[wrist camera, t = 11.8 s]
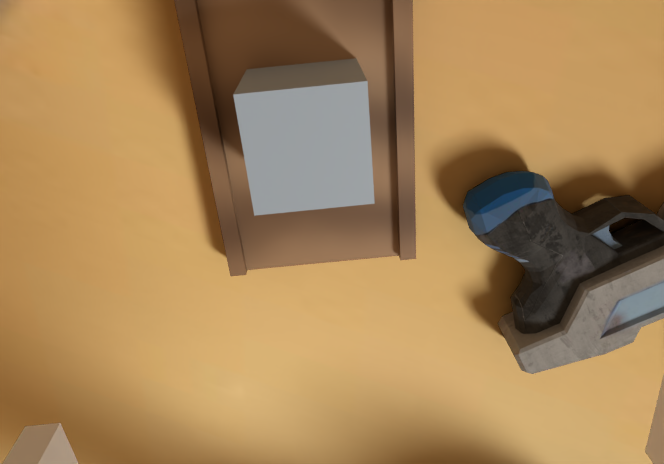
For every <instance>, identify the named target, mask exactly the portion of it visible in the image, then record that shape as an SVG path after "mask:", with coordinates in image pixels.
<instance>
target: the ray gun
mask: <svg viewBox="0 0 664 464" xmlns="http://www.w3.org/2000/svg"><path fill="white" fill-rule="evenodd" d="M463 208H464V211H465V214H466V218H467V222H468V225H469V228H470V230H471V231H472V232H473V233H474V234H475V235H476V236H477V238H478V239H479V240H480V241H482V242H483V243H484V244H485V245H487V246H488V247H490V248H492V249H494V250H496V251H498V252H501V253H503V254H505V255H508V256H511V257H513V258H514V259H516V260H517V261H518V262H519V263H521V264H522V266H523V267H524V269H525V274H524V276H523V278H522V281H521V283H520V285H519V286H518V288H517V289H516V290H515V292H514V293H513V295H512V296H511V303H512V309H513V312H511V313H509V314H506V315H504V316H502V318H501V319H500V321H499V322H498V325H499V327H500V329H501V331H502V333H503V335H504V337H505V339H506V341H507V343H508V345H509V347H510V349H511V351H512V353H513V355H514V357H515V359H516V360H517V362H518V364H519V366H520V368H521V370H522V371H525V372H527V373H531V374H534V373H537V372H541V371H545V370H548V369H552V368H555V367H559V366H563V365H566V364H570V363H573V362H577V361H580V360H584V359H588V358H591V357H595V356H599V355H603V354H606V353H608V352H611V351H613V350H615V349H618V348H620V347H623V346H625V345H628V344H630V343H632V342H633V341H634V340H635V338H636V336H637V334H638V332H639V330H640V328H641V327H643V326H646V325H648V324H650V323H653V322H655V321H658V320H660V319H663V318H664V202H663V204H662V206H661V208H660V209H659V211H658V213H657V215H656V214H655V213H653V212H652V211H651V210H649V209H648V208H647V207H645V206H644V205H642V204H641V203H640V202H638V201H637V200H635V199H634V198H632V197H631V196H629V195H626V196H620V197H611V198H604V199H602V200H600V201H598V202H596V203H594V204H592V205H589V206H587V207H585V208H583V209H581V210H579V211H577V212H575V213H573V214H571V213H569V212H568V211H566V210H564V209H563V208H561V207H560V206H559V204H558V203H557V202H556V201H555V199H554V196H553V193H552V190H551V187H550V185H549V182H548V181H547V180H546V179H545V178H544V177H543V176H542V175H539V174H536V173H534V172H528V171H516V172H506V173H503V174H501V175H498V176H495V177H492V178H489V179H488V180H486V181H485V182H483V183H481V184H480V185H478V186H476V187H475V188H473V189H472V190H470V191H468V192H467V195H466V198H465V201H464V204H463ZM623 218H635V219H643V220H640V221H638V222H636V223H634V224H632V225H629V226H627V227H625V228H623V229H621V230H618V231H616V232H614V233H612V234H610V232H609V225H611V224H613V223H615V222H617V221H619V220H621V219H623Z"/></svg>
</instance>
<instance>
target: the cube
mask: <svg viewBox="0 0 664 464" xmlns="http://www.w3.org/2000/svg"><path fill="white" fill-rule="evenodd" d="M233 96H234V102H235V108H236V113H237V119H238V125H239V130H240V136H241V142H242V148H243V153H244V159H245V165H246V170H247V176H248V182H249V188H250V193H251V199H252V205H253V210H254V216H255V215H265V214H275V213H285V212H295V211H305V210H315V209H325V208H335V207H345V206H355V205H365V204H375V202H374V184H373V167H372V150H371V133H370V115H369V98H368V81H367V79H366V77H365V75H364V73H363V71H362V69H361V67H360V65H359V63H358V61H357V59H356V58H354V59H344V60H334V61H324V62H314V63H304V64H295V65H285V66H275V67H265V68H255V69H247V70H246V72H245V73H244V75H243V77H242V79H241V81H240V83H239V85H238V87H237V88H236V90H235V92H234V94H233Z"/></svg>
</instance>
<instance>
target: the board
mask: <svg viewBox="0 0 664 464" xmlns="http://www.w3.org/2000/svg"><path fill="white" fill-rule="evenodd" d="M174 1H175V6H176V11H177V16H178V21H179V26H180V30H181V35H182V40H183V45H184V50H185V55H186V60H187V65H188V70H189V75H190V80H191V84H192V89H193V94H194V99H195V104H196V109H197V114H198V119H199V124H200V129H201V133H202V138H203V143H204V148H205V153H206V158H207V163H208V168H209V173H210V178H211V182H212V187H213V192H214V197H215V202H216V207H217V212H218V217H219V222H220V227H221V231H222V236H223V241H224V246H225V251H226V256H227V261H228V266H229V271H230V276H239V275H246V273H247V270H252V269H262V268H273V267H283V266H294V265H304V264H315V263H325V262H336V261H346V260H357V259H368V258H378V257H389V256H399V257H400V260H407V259H416V225H415V150H414V75H413V0H174ZM354 58H356V59H357V61H358V63H359V65H360V67H361V69H362V71H363V73H364V75H365V77H366V79H367V81H368V98H369V115H370V133H371V150H372V167H373V184H374V202H375V204H365V205H355V206H345V207H335V208H325V209H315V210H305V211H295V212H285V213H275V214H265V215H255V216H254V210H253V205H252V199H251V193H250V188H249V182H248V176H247V170H246V165H245V159H244V153H243V148H242V142H241V136H240V130H239V125H238V119H237V113H236V108H235V102H234V96H233V94H234V92H235V90H236V88H237V87H238V85H239V83H240V81H241V79H242V77H243V75H244V73H245V72H246V70H247V69H255V68H265V67H275V66H285V65H295V64H304V63H314V62H324V61H334V60H344V59H354Z"/></svg>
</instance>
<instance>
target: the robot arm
mask: <svg viewBox="0 0 664 464" xmlns="http://www.w3.org/2000/svg"><path fill="white" fill-rule="evenodd" d="M645 452H646V454H647V455H648V457H649V458H650V459H651V461H652V462H653V464H664V376H663V380H662V384H661V388H660V392H659V396H658V400H657V404H656V408H655V413H654V417H653V421H652V425H651V429H650V433H649V437H648V441H647V445H646V449H645ZM2 464H79V463H78V461H77V459H76V457H75V454H74V452H73V450H72V448H71V445H70V443H69V441H68V439H67V437H66V434H65V432H64V430H63V428H62V425H61V423H53V424H43V425H33V426H25V427H24V429H23V431H22V432H21V434H20V436H19V437H18V439H17V440H16V442H15V444H14V445H13V447H12V449H11V450H10V452H9V454H8V455H7V457H6V458H5V460H4V462H3V463H2Z"/></svg>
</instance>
